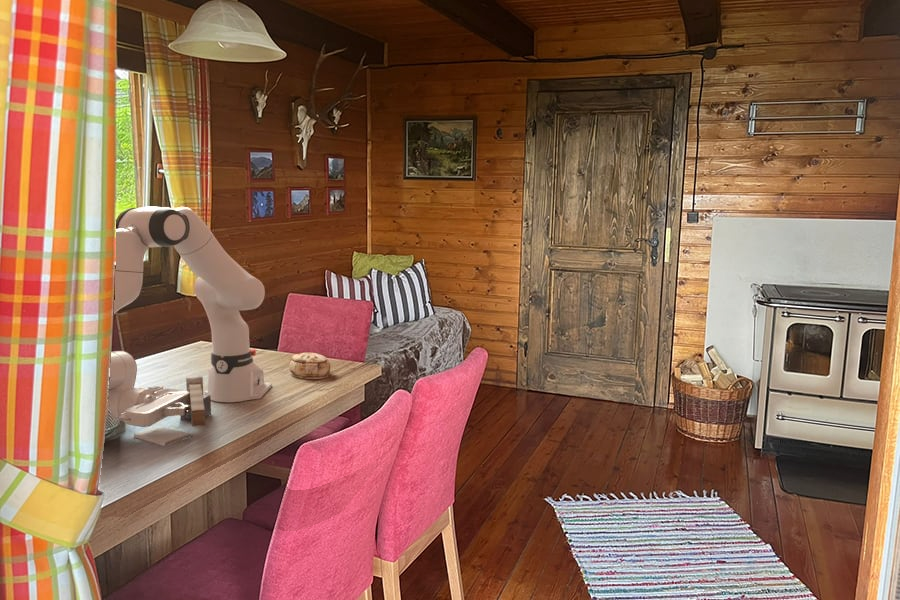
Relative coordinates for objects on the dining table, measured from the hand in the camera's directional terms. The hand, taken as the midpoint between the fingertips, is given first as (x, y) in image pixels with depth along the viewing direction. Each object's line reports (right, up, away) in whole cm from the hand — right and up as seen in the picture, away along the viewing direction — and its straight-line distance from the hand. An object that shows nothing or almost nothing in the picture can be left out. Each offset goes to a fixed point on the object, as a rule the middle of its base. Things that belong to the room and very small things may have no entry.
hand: (187, 410), depth 185 cm
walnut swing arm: (0, -1, +8) cm, 8 cm away
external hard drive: (-8, -8, +5) cm, 13 cm away
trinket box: (+18, +2, +67) cm, 70 cm away
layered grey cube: (-5, -5, +20) cm, 22 cm away
